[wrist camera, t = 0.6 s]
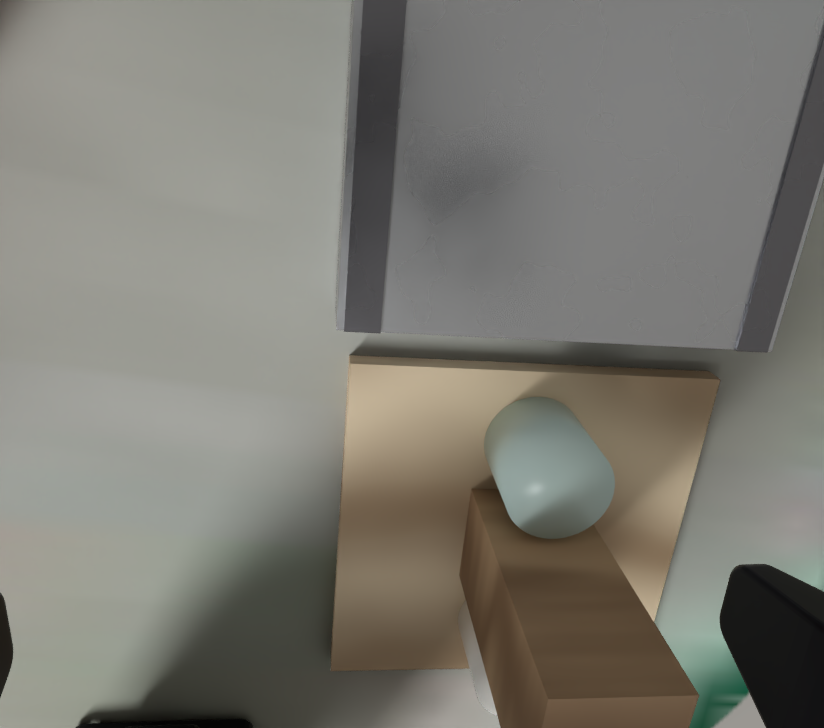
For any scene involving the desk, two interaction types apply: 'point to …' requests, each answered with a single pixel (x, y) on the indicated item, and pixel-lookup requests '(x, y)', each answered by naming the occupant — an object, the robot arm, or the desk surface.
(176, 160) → the desk surface
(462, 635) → the white short cylinder
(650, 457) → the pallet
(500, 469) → the grey-green round cylinder
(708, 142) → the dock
